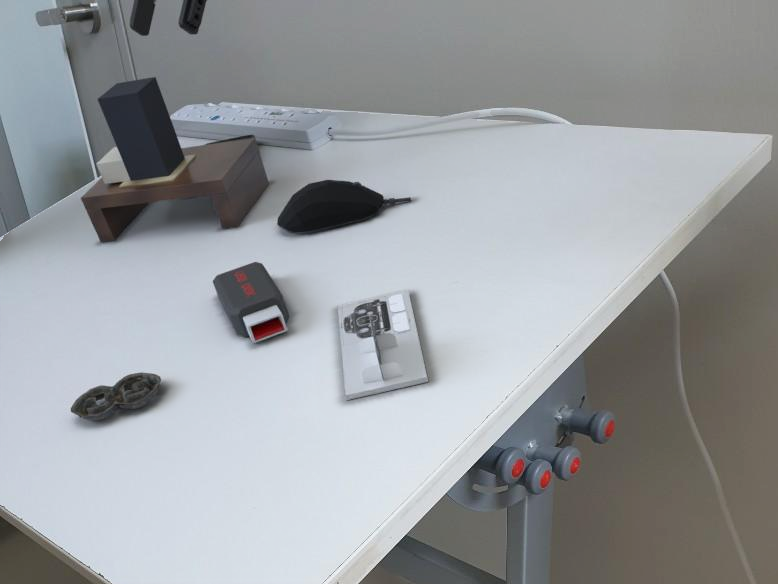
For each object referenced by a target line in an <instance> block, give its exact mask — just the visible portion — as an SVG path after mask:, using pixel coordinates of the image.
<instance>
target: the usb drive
mask: <svg viewBox="0 0 778 584" xmlns="http://www.w3.org/2000/svg"><path fill="white" fill-rule="evenodd" d="M212 284H213V286H214V289H215V292H216V295H217V297H218V300H219V302H220V304H221V306H222V308H223V310H224V312H225V313H226V316H227V317H228V320H229V322H230V324H231V326H232V328H233V330H234V332H235V334H236V335H238V336H241V337H244V338H248V337H249V338H250V339H251V341H252V343H253V344H256V343H259V342H261V341H263V340H267V339H269V338H272V337H275V336H277V335H280V334H282V333H286V332H288V327H287V324H286V323H287V322H288V320H289V317H290V313H289V311H288V307H287V305H286V304H287V303H286V301H285V298H284V296H283V294H282V292H281V291H280V289H279V287H278V286H277V284H276V283H275V282H274V280H273V278H272V276H271V275H270V274H269V272H268V270H267V269H266V267H265V266H264V264H263V263H262V262H258V261H253V262H251V263H248V264H245V265H242V266H239V267H236V268H234V269H230V270H228V271H225V272H223V273H220V274H217V275H216V276H215V277H214V279H213V280H212Z"/></svg>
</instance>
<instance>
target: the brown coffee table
mask: <svg viewBox="0 0 778 584" xmlns="http://www.w3.org/2000/svg"><path fill="white" fill-rule="evenodd" d="M181 149H182V152H183V154H184V157H185V159H184V160H183V161H182V162H181V163H180V164H179V165H178V166H177V168H176V169H175V170H174V171H173V172H172V173H171V174H170V175H169V176H164V177H156V178H149V179H141V180H134V181H124V182H117V183H109V184H105V183H104V181H103V178H102V177H101V178H99V180H97V182H95V183H94V184H93V185H92V186H91V187H90V188H89V189H88V190H87V191H86V192H85V193H84V194H83V195H82V196H81V197H80V200H81V202H82V205H83V206H84V209H85V211H86V213H87V215H88V218H89V220H90V222H91V224H92V227H93V228H94V230H95V233H96V235H97V237H98V239H99V243H108V242H109V243H110V242H111V243H112V242H116V241H117V240H118V239H119V238H120V237H121V235H123V233H124V232H125V231H126V230H127V229H128V228H129V227H130V225H131V224H132V223H133V222H134V221H135V220H136V219H137V218H138V217H139V216H140V215H141V214H142V212H143V211H144V210H145V209H146V208H147V207H148V206H149V204H150V203H155V202H164V201H171V200H181V199H187V198H188V199H189V198H195V197H203V196H205V197H206V196H210V199H211V202H212V205H213V207H214V211H215V213H216V216H217V219H218V221H219V224H220V227H221V229H222V230H224V229H234V228H238V227H239V226H240V224H241V223H242V222H243V220H244V219H245V217H246V216H247V215H248V213H249V212H250V210H251V209H252V208H253V206H254V205H255V203H256V202H257V201H258V199H259V198H260V197H261V195H262V193H263V192H264V191H265V189H266V188H267V187H268V186H269V184H270V183H269V180H268V176H267V172H266V169H265V166H264V163H263V159H262V156H261V152H260V149H259V146H258V142H257V139H256V137H255V138H250V139H243V140H236V141H229V142H222V143H215V144H208V145H205V144H202V145H201V144H200V145H195V146H188V147H181Z"/></svg>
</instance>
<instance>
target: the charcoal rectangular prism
mask: <svg viewBox="0 0 778 584" xmlns="http://www.w3.org/2000/svg"><path fill="white" fill-rule="evenodd" d="M97 102H98V104H99V107H100V109H101V112H102V114H103V117H104V119H105V121H106V124H107V126H108V129H109V131H110V134H111V135H112V139H113V141H114V143H115V145H116V146H114V147H112V148H111V149H110V150H109V151H108V152H107V153H106V154H105V155H104V156H103V157H102V158H101V159H100V160H98V162H96V163H95V164H96V166H97V169H98V171H99V174H100V176H101V178H103V181H104V183H105V184H109V183H117V182H124V181H134V180H141V179H149V178H156V177H164V176H169V175H170V174H171V173H172V172H173V171H174V170H175V169H176V168H177V166H178V165H179V164H180V163H181V162H182V161H183V160H184V159H185V157H184V154H183V152H182V149H181V148H182V146H181V144H180V141H179V138H178V135H177V132H176V129H175V127H174V124H173V121H172V119H171V115H170V113H169V110H168V108H167V105H166V102H165V99H164V97H163V94H162V91H161V88H160V85H159V82H158V80H157V77H156V76H153V77H152V76H151V77H146V78H140V79H135V80H129V81H128V80H127V81H122V82H116V83H115V84H114V85H113V86H111V87H110V88H108V90H106V91H105V92H104V93H103V94H102V95H101V96H99V97H98V98H97Z"/></svg>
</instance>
